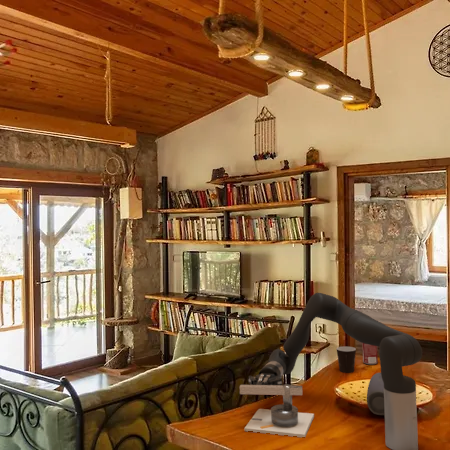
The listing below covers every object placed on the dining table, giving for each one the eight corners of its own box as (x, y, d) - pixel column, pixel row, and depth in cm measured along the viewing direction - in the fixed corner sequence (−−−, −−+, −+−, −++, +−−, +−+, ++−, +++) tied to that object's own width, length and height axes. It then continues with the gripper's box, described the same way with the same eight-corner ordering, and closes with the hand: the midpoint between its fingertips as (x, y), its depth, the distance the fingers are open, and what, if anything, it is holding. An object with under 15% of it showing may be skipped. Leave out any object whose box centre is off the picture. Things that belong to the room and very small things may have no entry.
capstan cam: (303, 416, 174) (302, 381, 174) (303, 426, 165) (302, 390, 165) (242, 414, 177) (241, 380, 177) (239, 425, 168) (238, 389, 168)
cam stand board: (314, 416, 178) (313, 413, 178) (304, 437, 161) (304, 434, 161) (259, 411, 184) (258, 408, 184) (244, 431, 167) (244, 427, 167)
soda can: (378, 365, 237) (377, 339, 237) (363, 365, 238) (362, 339, 238) (377, 361, 243) (376, 336, 243) (362, 361, 245) (361, 336, 245)
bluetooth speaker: (394, 420, 172) (393, 391, 172) (366, 417, 175) (365, 389, 175) (394, 397, 194) (394, 371, 194) (369, 395, 197) (368, 370, 197)
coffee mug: (342, 367, 236) (341, 345, 236) (359, 370, 231) (359, 348, 231) (330, 373, 227) (329, 351, 227) (348, 376, 222) (347, 353, 222)
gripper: (254, 362, 192) (239, 376, 175) (288, 364, 187) (276, 379, 171) (254, 382, 192) (240, 397, 176) (289, 385, 187) (277, 401, 171)
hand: (258, 388), depth 173 cm, fingers closed
